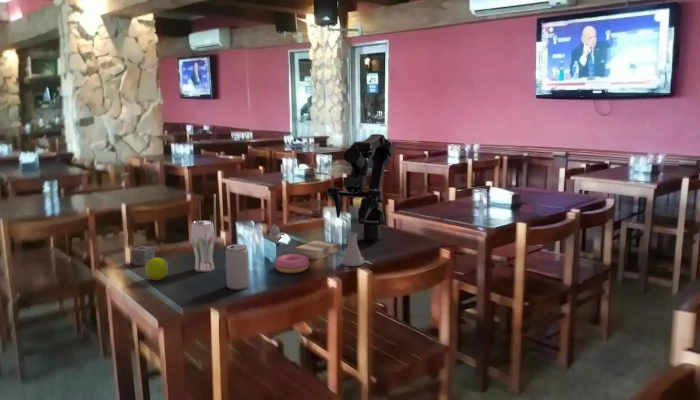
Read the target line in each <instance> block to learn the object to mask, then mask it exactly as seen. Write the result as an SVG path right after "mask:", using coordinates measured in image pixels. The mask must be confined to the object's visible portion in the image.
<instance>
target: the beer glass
mask: <svg viewBox="0 0 700 400" xmlns="http://www.w3.org/2000/svg"><path fill="white" fill-rule="evenodd" d="M190 232H191V233H190V236H191V245H192V248H193V252H194V256H195V257H194V259H195V262H194V263H195V264H194V271H195V272H197V273H205V272H206V273H207V272H211V271H214V270H215V264H214V256H213V255H214V248H215V227H214V221H213V220H207V219H206V220H196V221H195V220H194V221H192V222H191V231H190Z"/></svg>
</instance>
